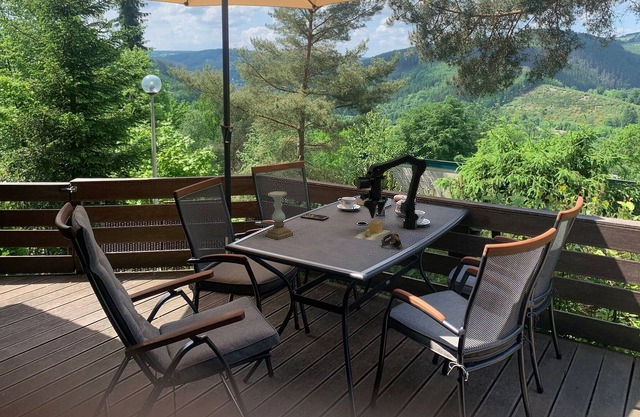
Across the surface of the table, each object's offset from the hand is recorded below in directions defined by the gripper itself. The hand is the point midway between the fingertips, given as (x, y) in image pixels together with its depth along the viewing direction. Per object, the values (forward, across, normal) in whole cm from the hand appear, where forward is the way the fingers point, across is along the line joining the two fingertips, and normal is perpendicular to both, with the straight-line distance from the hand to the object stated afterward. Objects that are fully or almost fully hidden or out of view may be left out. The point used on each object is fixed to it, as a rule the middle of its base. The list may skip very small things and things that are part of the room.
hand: (376, 216), depth 261 cm
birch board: (+10, +5, 0) cm, 11 cm away
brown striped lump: (+10, +18, +17) cm, 27 cm away
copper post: (+8, +10, 0) cm, 13 cm away
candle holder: (+10, +27, -45) cm, 53 cm away
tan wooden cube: (+9, 0, 0) cm, 9 cm away
